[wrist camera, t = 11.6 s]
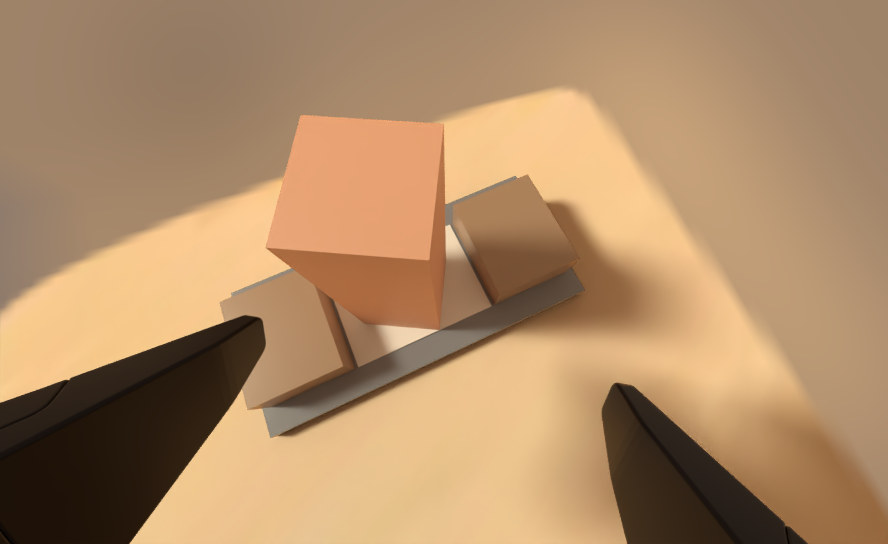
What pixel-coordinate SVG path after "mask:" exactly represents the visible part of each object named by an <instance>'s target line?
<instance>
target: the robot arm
mask: <svg viewBox="0 0 888 544" xmlns="http://www.w3.org/2000/svg"><path fill="white" fill-rule="evenodd" d="M265 347H266V339H265V332H264V325H263V321H262V319H261V318H260V317H256V316H250V315H243V316H240V317H237V318H234V319H232V320H229V321H226V322H223V323H221V324H218V325H215V326H212V327H210V328H207V329H204V330H201V331H199V332H196V333H193V334H190V335H188V336H185V337H182V338H179V339H177V340H174V341H171V342H168V343H166V344H163V345H160V346H157V347H155V348H152V349H149V350H146V351H144V352H141V353H138V354H135V355H133V356H130V357H127V358H124V359H121V360H119V361H116V362H113V363H110V364H108V365H105V366H102V367H99V368H97V369H94V370H91V371H88V372H86V373H83V374H80V375H77V376H75V377H72V378H70V380H63V381H61V382H58V383H55V384H52V385H50V386H47V387H44V388H41V389H39V390H36V391H33V392H30V393H27V394H24V395H21V396H19V397H16V398H13V399H10V400H7V401H4V402H1V403H0V544H130V542H131V541H132V540H133V538H134V537H135V535H136V534H137V533H138V531H139V530H140V529H141V527H142V526H143V525H144V523H145V522H146V521H147V519H148V518H149V516H150V515H151V514H152V512H153V511H154V510H155V508H156V507H157V506H158V504H159V503H160V502H161V500H162V499H163V498H164V496H165V495H166V493H167V492H168V491H169V489H170V488H171V487H172V485H173V484H174V483H175V481H176V480H177V479H178V477H179V476H180V474H181V473H182V472H183V470H184V469H185V468H186V466H187V465H188V464H189V462H190V461H191V460H192V458H193V457H194V455H195V454H196V453H197V451H198V450H199V449H200V447H201V446H202V445H203V443H204V442H205V441H206V439H207V438H208V436H209V435H210V434H211V432H212V431H213V430H214V428H215V427H216V426H217V424H218V423H219V422H220V420H221V419H222V417H223V416H224V415H225V413H226V412H227V411H228V409H229V408H230V406H231V405H232V404H233V402H234V401H235V399H236V397H237V396H238V394H239V393H240V391H241V389H242V388H243V386H244V384H245V382H246V381H247V379H248V377H249V376H250V374H251V372H252V371H253V369H254V367H255V366H256V364H257V362H258V361H259V359H260V357H261V356H262V354H263V352H264V350H265ZM602 421H603V428H604V435H605V442H606V449H607V456H608V463H609V470H610V475H611V481H612V485H613V489H614V493H615V497H616V501H617V505H618V509H619V513H620V517H621V521H622V525H623V529H624V533H625V537H626V541H627V544H808V543H807V542H806V541H804V540H803V539H802V538H801V537H800V536H799V535H798V534H797V533H796V532H795V531H793V530H792V529H791V528H790V527H788V526H785V523H784V522H783V521H782V520H781V519H780V518H779V517H778V516H777V515H776V514H774V513H773V512H772V511H771V510H770V509H769V508H768V507H767V506H766V505H764V504H763V503H762V502H761V501H760V500H759V499H758V498H757V497H756V496H755V495H753V494H752V493H751V492H750V491H749V490H748V489H747V488H746V487H745V486H743V485H742V484H741V483H740V482H739V481H738V480H737V479H736V478H735V477H734V476H732V475H731V474H730V473H729V472H728V471H727V470H726V469H725V468H724V467H722V466H721V465H720V464H719V463H718V462H717V461H716V460H715V459H714V458H712V457H711V456H710V455H709V454H708V453H707V452H706V451H705V450H704V449H703V448H701V447H700V446H699V445H698V444H697V443H696V442H695V441H694V440H693V439H691V438H690V437H689V436H688V435H687V434H686V433H685V432H684V431H683V430H682V429H680V428H679V427H678V426H677V425H676V424H675V423H674V422H673V421H672V420H670V419H669V418H668V417H667V416H666V415H665V414H664V413H663V412H662V411H661V410H659V409H658V408H657V407H656V406H655V405H654V404H653V403H652V402H651V401H649V400H648V399H647V398H646V397H645V396H644V395H643V394H642V393H641V392H639V391H638V390H637V389H636V388H635V387H634V386H632V385H628V384H622V383H614V384H613V385H612V387H611V389H610V391H609V393H608V396H607V398H606V400H605V402H604V404H603V407H602Z"/></svg>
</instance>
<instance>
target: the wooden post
mask: <svg viewBox="0 0 888 544" xmlns="http://www.w3.org/2000/svg"><path fill="white" fill-rule="evenodd" d="M266 248H267V249H268V250H269V251H270V252H272V253H273V254H274V255H276V256H277V257H278V258H280V259H281V260H282V261H283V262H285V263H286V264H287V265H289V266H290V267H291V268H293V269H294V270H295V271H297V272H298V273H299V274H300V275H302V276H303V277H304V278H306V279H307V280H308V281H310V282H311V283H312V284H314V285H315V286H316V287H317V288H319V289H320V290H321V291H323V292H324V293H325V294H327V295H328V296H329V297H330V298H332V299H333V300H334V301H336V302H337V303H338V304H340V305H341V306H342V307H344V308H345V309H346V310H347V311H349V312H350V313H351V314H353V315H354V316H355V317H357V318H358V319H359V320H360V321H362V322H363V323H364V324H373V325H385V326H397V327H408V328H420V329H432V330H440V320H441V309H442V298H443V287H444V276H445V265H446V230H445V171H444V124H436V123H418V122H403V121H388V120H372V119H356V118H340V117H325V116H307V115H301V116H300V120H299V123H298V127H297V131H296V135H295V138H294V142H293V146H292V150H291V154H290V158H289V161H288V165H287V169H286V172H285V176H284V180H283V184H282V187H281V191H280V195H279V199H278V202H277V206H276V210H275V214H274V217H273V221H272V225H271V229H270V233H269V236H268V240H267V244H266Z"/></svg>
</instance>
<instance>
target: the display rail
mask: <svg viewBox="0 0 888 544" xmlns="http://www.w3.org/2000/svg"><path fill="white" fill-rule="evenodd" d="M445 230H446V265H445V276H444V287H443V298H442V309H441V320H440V330H432V329H420V328H408V327H397V326H385V325H373V324H364V323H363V322H362V321H360V320H359V319H358V318H357V317H355V316H354V315H353V314H351V313H350V312H349V311H347V310H346V309H345V308H344V307H342V306H341V305H340V304H338V303H337V302H336V301H334V300H333V299H332V298H330V297H329V296H328V295H327V294H325V293H324V292H323V291H321V290H320V289H319V288H317V287H316V286H315V285H314V284H312V283H311V282H310V281H308V280H307V279H306V278H304V277H303V276H302V275H300V274H299V273H298V272H297V271H295V270H294V269H293V268H291V269H289V270H286V271H284V272H281V273H279V274H277V275H274V276H272V277H269V278H267V279H264V280H262V281H260V282H257V283H255V284H252V285H250V286H248V287H245V288H243V289H240V290H238V291H235V292H233V293H231V295H232V297H231V298H228V299H226V300H223V301H221V302H220V306H221V310H222V314H223V317H224V321H225V322H226V321H229V320H232V319H234V318H237V317H240V316H243V315H250V316H256V317H260V318H261V319H262V321H263V325H264V332H265V339H266V347H265V350H264V352H263V354H262V356H261V357H260V359H259V361H258V362H257V364H256V366H255V367H254V369H253V371H252V372H251V374H250V376H249V377H248V379H247V381H246V382H245V384H244V386H243V388H242V390H243V394H244V398H245V402H246V406H247V410H252V409H261V408H262V409H263V412H264V416H265V420H266V423H267V427H268V431H269V434H270V438H272V437H276V436H279V435H281V434H283V433H285V432H287V431H289V430H291V429H293V428H296V427H298V426H300V425H302V424H304V423H306V422H308V421H310V420H313V419H315V418H317V417H319V416H321V415H323V414H325V413H327V412H330V411H332V410H334V409H336V408H338V407H340V406H342V405H344V404H346V403H349V402H351V401H353V400H355V399H357V398H359V397H361V396H363V395H366V394H368V393H370V392H372V391H374V390H376V389H378V388H380V387H383V386H385V385H387V384H389V383H391V382H393V381H395V380H397V379H400V378H402V377H404V376H406V375H408V374H410V373H412V372H414V371H417V370H419V369H421V368H423V367H425V366H427V365H429V364H431V363H434V362H436V361H438V360H440V359H442V358H444V357H446V356H448V355H451V354H453V353H455V352H457V351H459V350H461V349H463V348H465V347H468V346H470V345H472V344H474V343H476V342H478V341H480V340H482V339H485V338H487V337H489V336H491V335H493V334H495V333H497V332H499V331H501V330H504V329H506V328H508V327H510V326H512V325H514V324H516V323H518V322H521V321H523V320H525V319H527V318H529V317H531V316H533V315H535V314H538V313H540V312H542V311H544V310H546V309H548V308H550V307H552V306H555V305H557V304H559V303H561V302H563V301H565V300H567V299H569V298H572V297H574V296H576V295H578V294H580V293H582V292H583V291H584V290H585V289H584V287H583V286H582V284H581V283H580V281H579V279H578V278H577V276H576V274H575V273H574V271H573V269H572V268H571V266H572V265H573V264H574V263H575V262H576V261H577V260H578V259H579V256H578V255H577V253H576V252H575V250H574V248H573V247H572V245H571V244H570V242H569V240H568V239H567V237H566V236H565V234H564V232H563V231H562V229H561V227H560V226H559V224H558V223H557V221H556V219H555V218H554V216H553V215H552V213H551V211H550V210H549V208H548V207H547V205H546V203H545V202H544V200H543V199H542V197H541V195H540V194H539V192H538V190H537V189H536V187H535V186H534V184H533V182H532V181H531V179H530V178H529V176H528V174H527V175H525V176H523V177H520V178H518V179H517V177H516V176H514V177H511V178H509V179H507V180H504V181H502V182H499V183H497V184H494V185H492V186H490V187H487V188H485V189H482V190H480V191H477V192H475V193H473V194H470V195H468V196H465V197H463V198H461V199H458V200H456V201H453V202H451V203H448V204H446V205H445Z"/></svg>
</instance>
